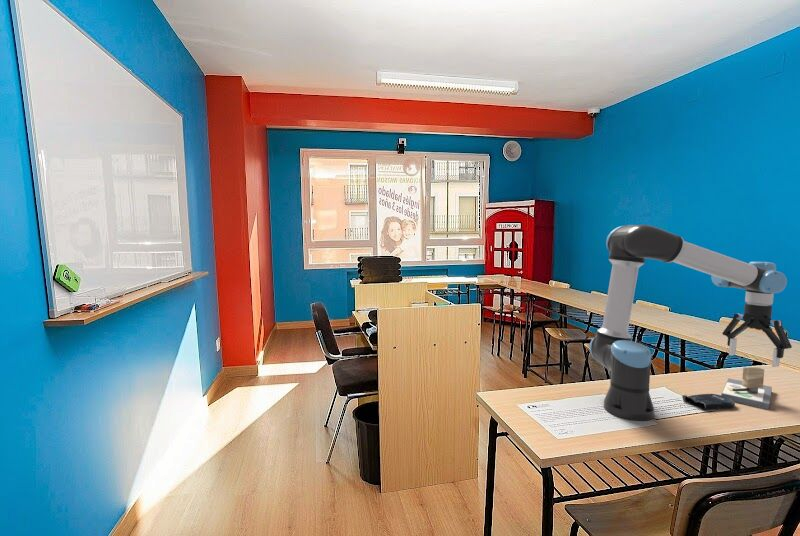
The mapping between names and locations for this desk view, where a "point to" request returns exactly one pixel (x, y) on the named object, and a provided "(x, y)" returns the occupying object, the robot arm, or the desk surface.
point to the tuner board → (747, 394)
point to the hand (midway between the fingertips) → (752, 360)
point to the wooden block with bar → (752, 379)
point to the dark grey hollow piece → (710, 401)
